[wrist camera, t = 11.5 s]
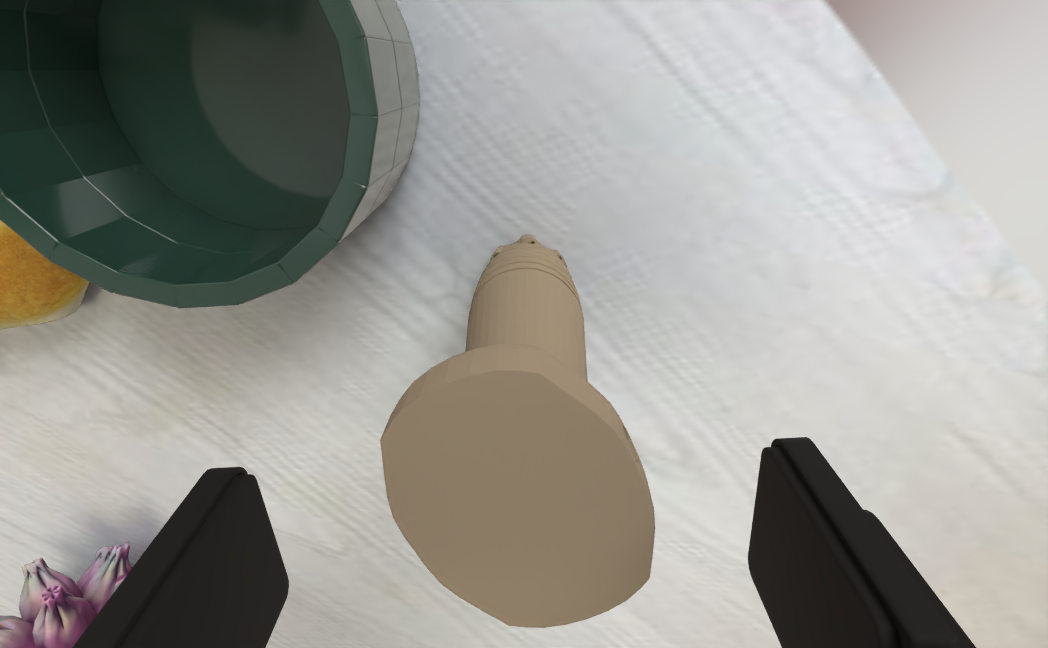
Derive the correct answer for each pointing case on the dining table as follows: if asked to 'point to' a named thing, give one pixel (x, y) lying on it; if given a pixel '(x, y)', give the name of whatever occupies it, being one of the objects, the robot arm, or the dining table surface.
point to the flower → (63, 601)
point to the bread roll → (34, 284)
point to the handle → (521, 458)
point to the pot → (200, 137)
